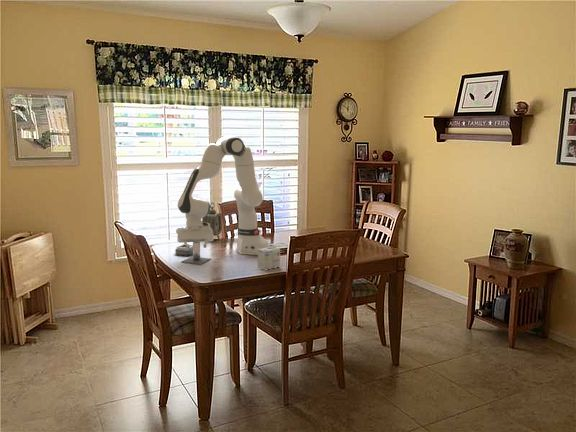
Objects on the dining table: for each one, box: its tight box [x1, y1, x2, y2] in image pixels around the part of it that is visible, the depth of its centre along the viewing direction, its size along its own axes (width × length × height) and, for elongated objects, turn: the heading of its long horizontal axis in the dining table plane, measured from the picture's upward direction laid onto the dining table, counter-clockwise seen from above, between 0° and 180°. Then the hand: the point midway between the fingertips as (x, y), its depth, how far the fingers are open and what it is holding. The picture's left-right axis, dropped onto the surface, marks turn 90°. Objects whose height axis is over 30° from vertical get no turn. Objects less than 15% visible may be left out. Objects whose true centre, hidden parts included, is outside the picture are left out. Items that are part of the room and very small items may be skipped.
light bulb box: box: [257, 246, 281, 271], centre depth 274 cm, size 11×7×11 cm, turn 129°
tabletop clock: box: [201, 201, 223, 242], centre depth 337 cm, size 14×9×25 cm, turn 168°
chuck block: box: [174, 243, 193, 257], centre depth 300 cm, size 12×12×4 cm
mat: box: [181, 255, 212, 266], centre depth 285 cm, size 12×12×1 cm
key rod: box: [192, 242, 201, 261], centre depth 284 cm, size 4×4×10 cm
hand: (196, 247), depth 284 cm, fingers open, 8 cm apart
